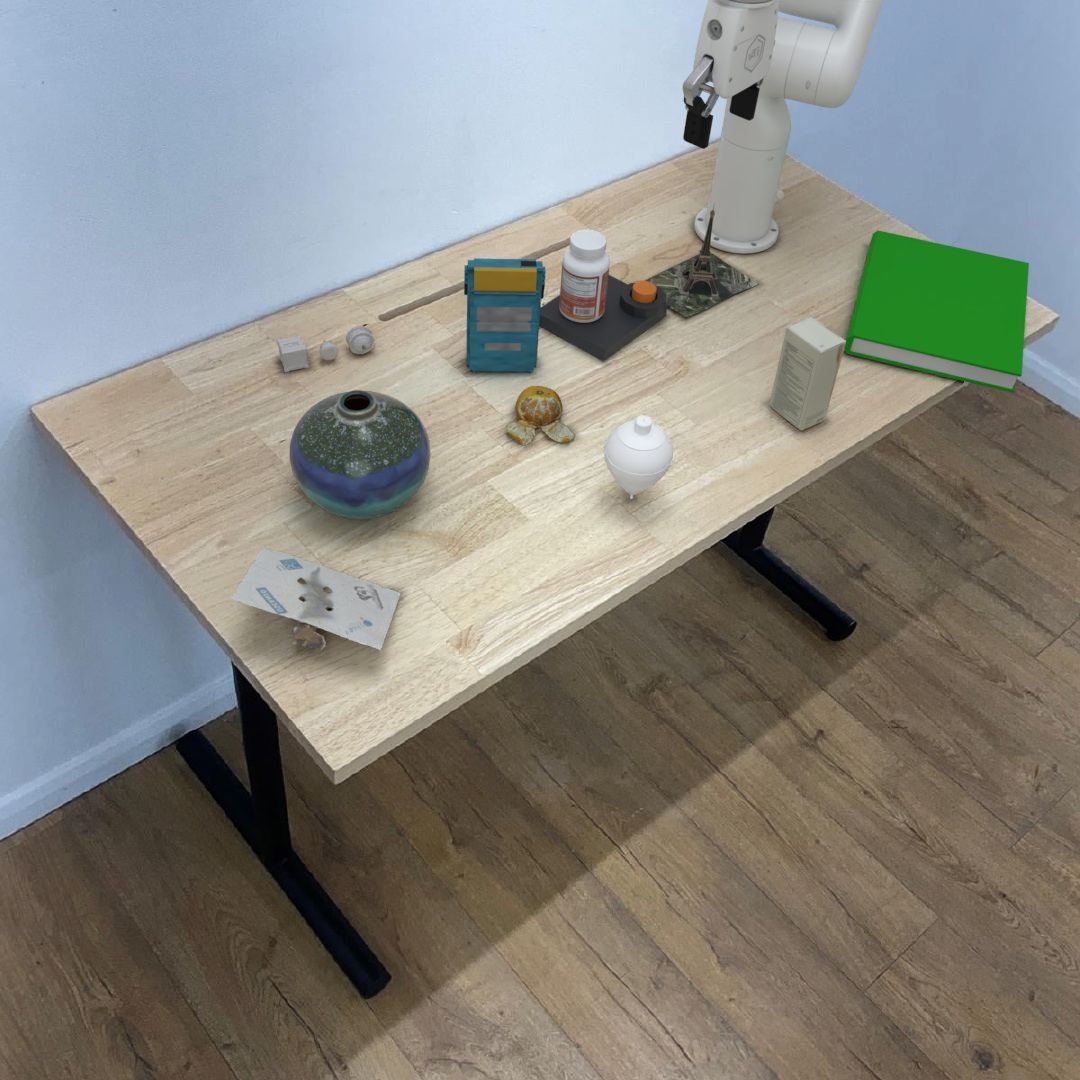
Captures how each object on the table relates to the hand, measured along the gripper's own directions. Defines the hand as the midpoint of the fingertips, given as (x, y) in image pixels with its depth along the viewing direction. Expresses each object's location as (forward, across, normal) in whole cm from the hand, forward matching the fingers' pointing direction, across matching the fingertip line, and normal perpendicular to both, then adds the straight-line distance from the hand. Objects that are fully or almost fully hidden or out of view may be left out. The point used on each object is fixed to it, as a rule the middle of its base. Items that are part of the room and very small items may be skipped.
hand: (718, 129), depth 139 cm
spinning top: (+28, -32, -15) cm, 45 cm away
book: (+28, +27, -24) cm, 46 cm away
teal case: (+28, -24, +12) cm, 39 cm away
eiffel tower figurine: (+28, +9, +4) cm, 30 cm away
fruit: (+28, -30, +1) cm, 41 cm away
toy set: (+27, -39, +27) cm, 55 cm away
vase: (+28, -52, +8) cm, 60 cm away
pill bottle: (+27, -10, +10) cm, 30 cm away
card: (+28, -72, -2) cm, 77 cm away
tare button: (+25, -3, +6) cm, 26 cm away
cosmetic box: (+28, -5, -21) cm, 36 cm away
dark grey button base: (+28, -7, +9) cm, 31 cm away
